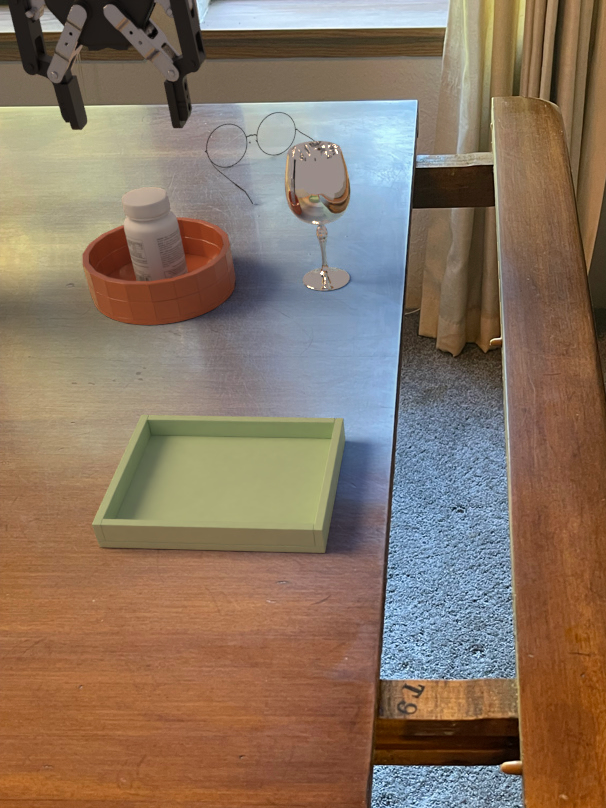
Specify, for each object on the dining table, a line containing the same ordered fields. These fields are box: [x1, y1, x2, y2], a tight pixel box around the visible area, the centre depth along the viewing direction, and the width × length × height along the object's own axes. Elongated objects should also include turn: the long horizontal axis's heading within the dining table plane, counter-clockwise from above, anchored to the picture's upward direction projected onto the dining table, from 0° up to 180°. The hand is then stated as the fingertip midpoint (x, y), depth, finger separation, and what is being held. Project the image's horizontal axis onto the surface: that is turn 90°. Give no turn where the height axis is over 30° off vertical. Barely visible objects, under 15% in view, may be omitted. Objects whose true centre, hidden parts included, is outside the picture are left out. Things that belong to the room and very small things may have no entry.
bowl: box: [81, 216, 237, 326], centre depth 88 cm, size 13×13×4 cm
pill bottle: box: [121, 186, 188, 281], centre depth 86 cm, size 5×5×8 cm
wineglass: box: [284, 140, 352, 292], centre depth 85 cm, size 6×6×12 cm
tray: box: [91, 414, 346, 554], centre depth 66 cm, size 15×12×2 cm
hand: (129, 126), depth 79 cm, fingers open, 8 cm apart
